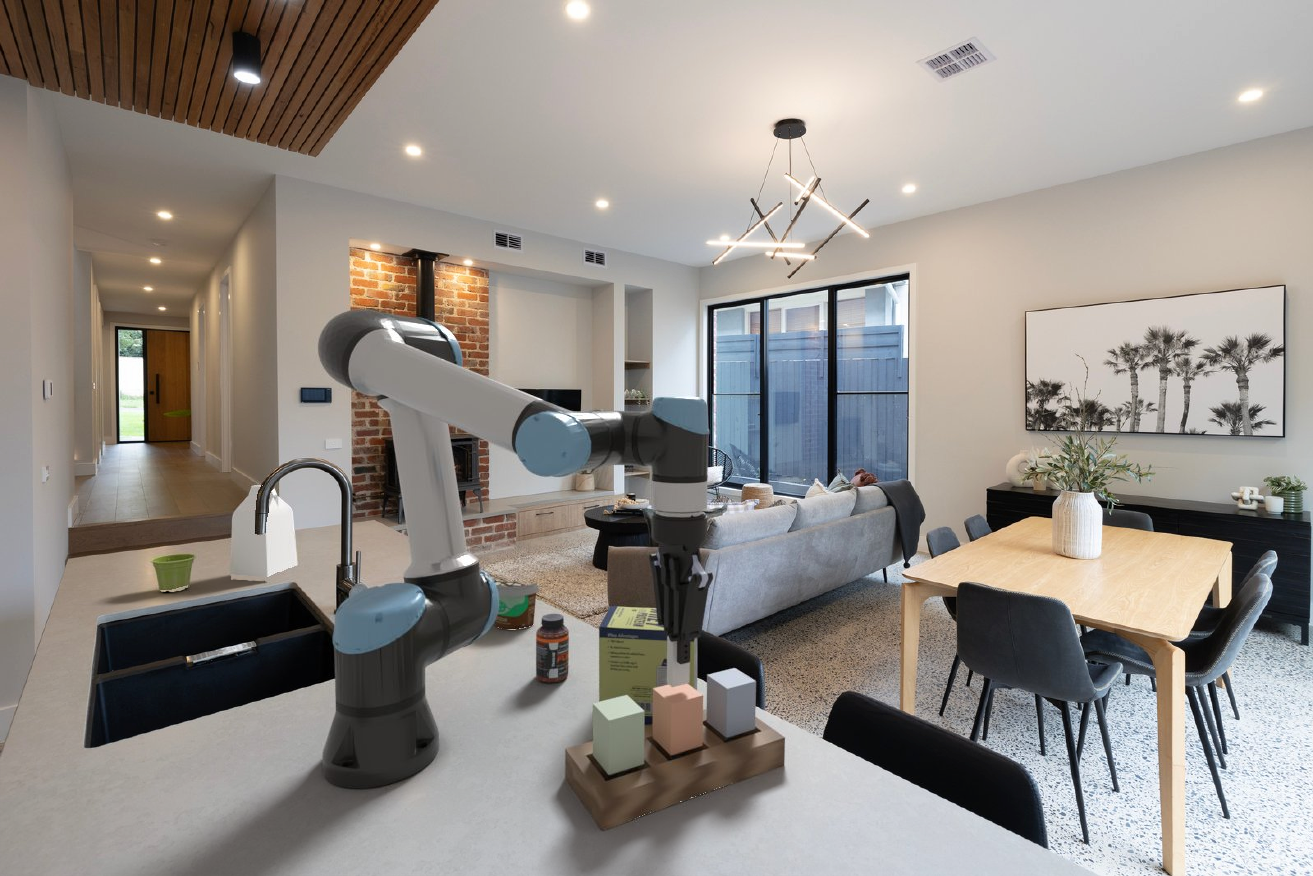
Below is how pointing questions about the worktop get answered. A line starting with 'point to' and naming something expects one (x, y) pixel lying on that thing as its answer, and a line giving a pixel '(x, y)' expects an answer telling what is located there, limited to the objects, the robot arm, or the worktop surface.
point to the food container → (515, 604)
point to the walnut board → (670, 772)
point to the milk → (262, 538)
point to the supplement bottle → (552, 649)
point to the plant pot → (173, 570)
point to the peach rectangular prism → (677, 718)
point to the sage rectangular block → (618, 734)
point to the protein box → (635, 656)
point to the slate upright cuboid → (731, 702)
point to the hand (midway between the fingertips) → (678, 682)
